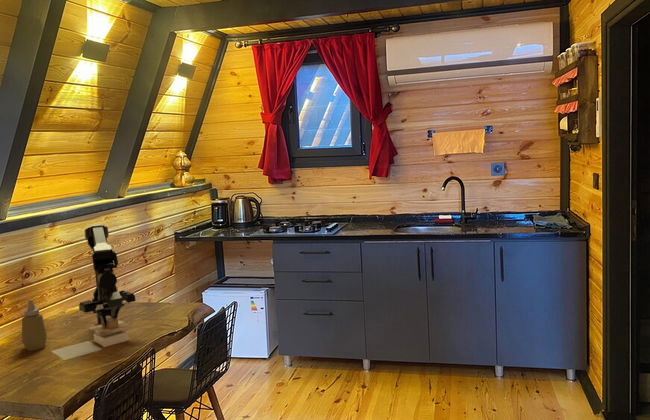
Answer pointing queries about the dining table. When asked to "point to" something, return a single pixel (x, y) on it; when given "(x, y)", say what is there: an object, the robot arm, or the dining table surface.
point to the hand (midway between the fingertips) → (109, 324)
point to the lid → (109, 326)
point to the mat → (76, 350)
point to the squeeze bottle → (33, 328)
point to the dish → (111, 338)
